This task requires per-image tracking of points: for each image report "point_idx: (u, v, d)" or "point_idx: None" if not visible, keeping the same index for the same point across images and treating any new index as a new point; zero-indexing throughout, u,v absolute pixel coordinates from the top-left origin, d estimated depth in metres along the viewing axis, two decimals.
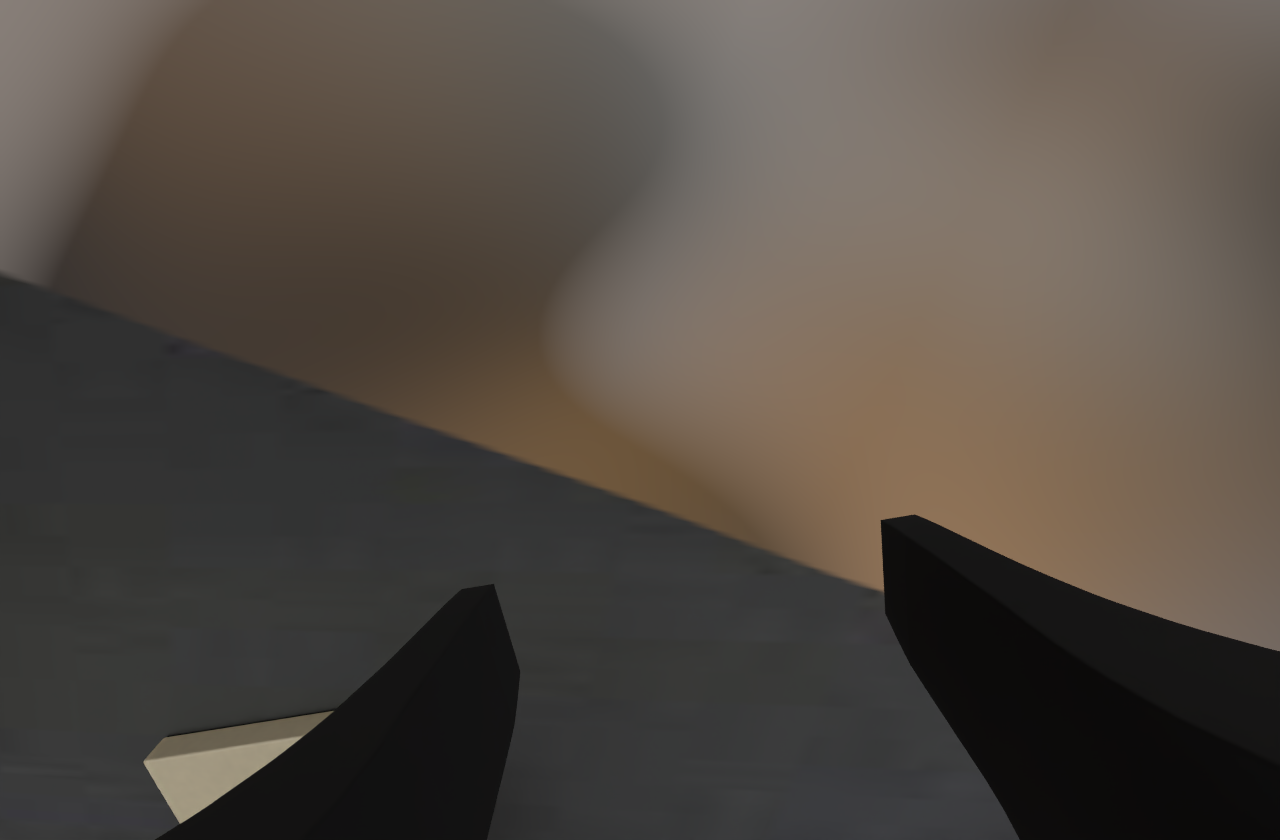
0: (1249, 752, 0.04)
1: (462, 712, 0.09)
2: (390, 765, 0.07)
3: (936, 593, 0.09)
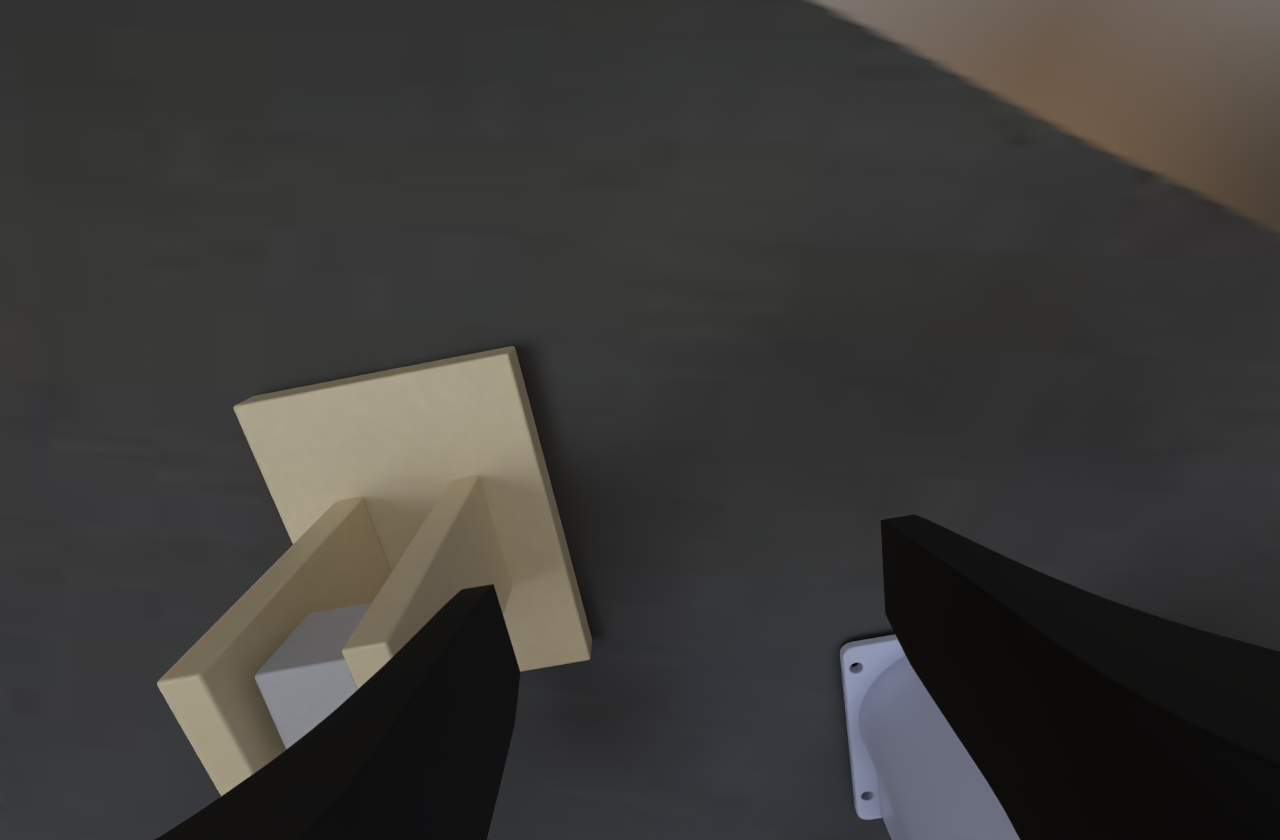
0: (1248, 752, 0.04)
1: (462, 712, 0.09)
2: (390, 765, 0.07)
3: (936, 593, 0.09)
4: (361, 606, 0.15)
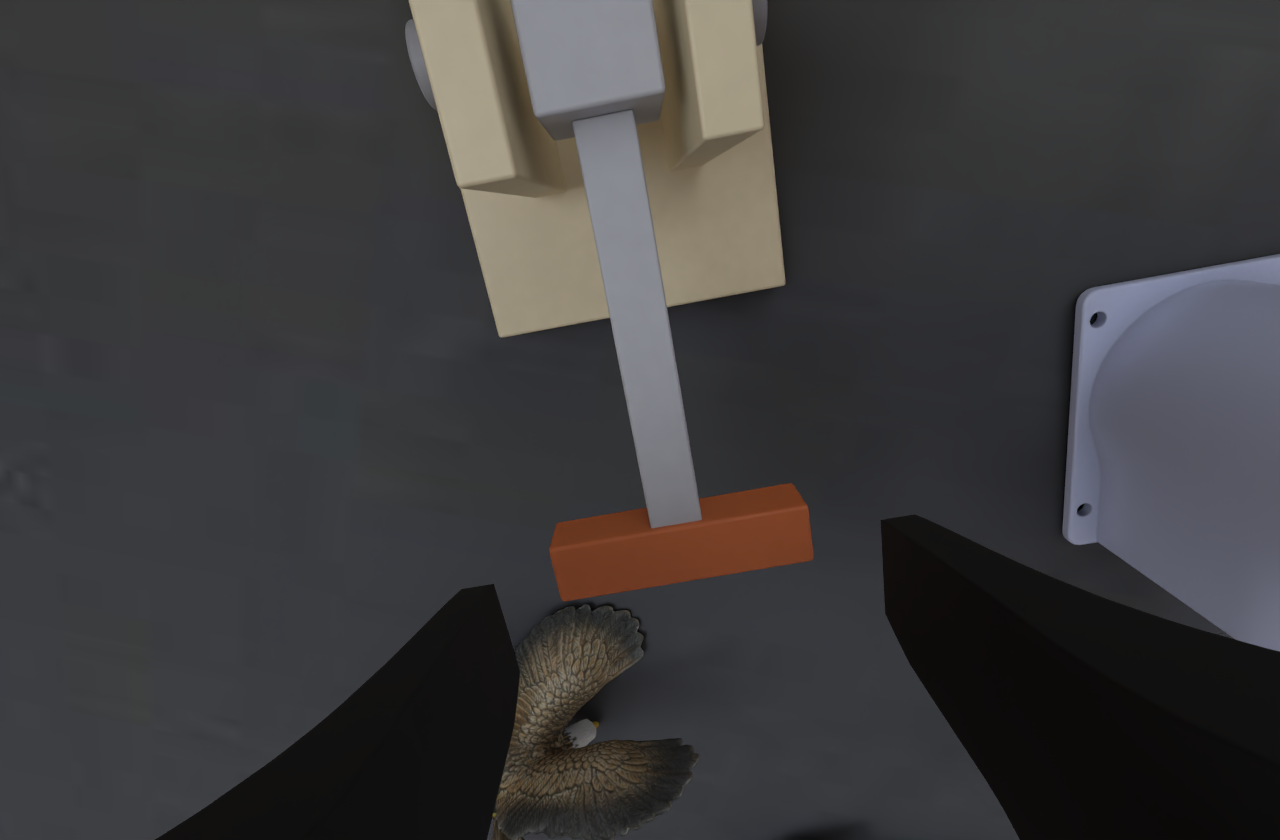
0: (1249, 752, 0.04)
1: (462, 711, 0.09)
2: (390, 765, 0.07)
3: (936, 593, 0.09)
4: None
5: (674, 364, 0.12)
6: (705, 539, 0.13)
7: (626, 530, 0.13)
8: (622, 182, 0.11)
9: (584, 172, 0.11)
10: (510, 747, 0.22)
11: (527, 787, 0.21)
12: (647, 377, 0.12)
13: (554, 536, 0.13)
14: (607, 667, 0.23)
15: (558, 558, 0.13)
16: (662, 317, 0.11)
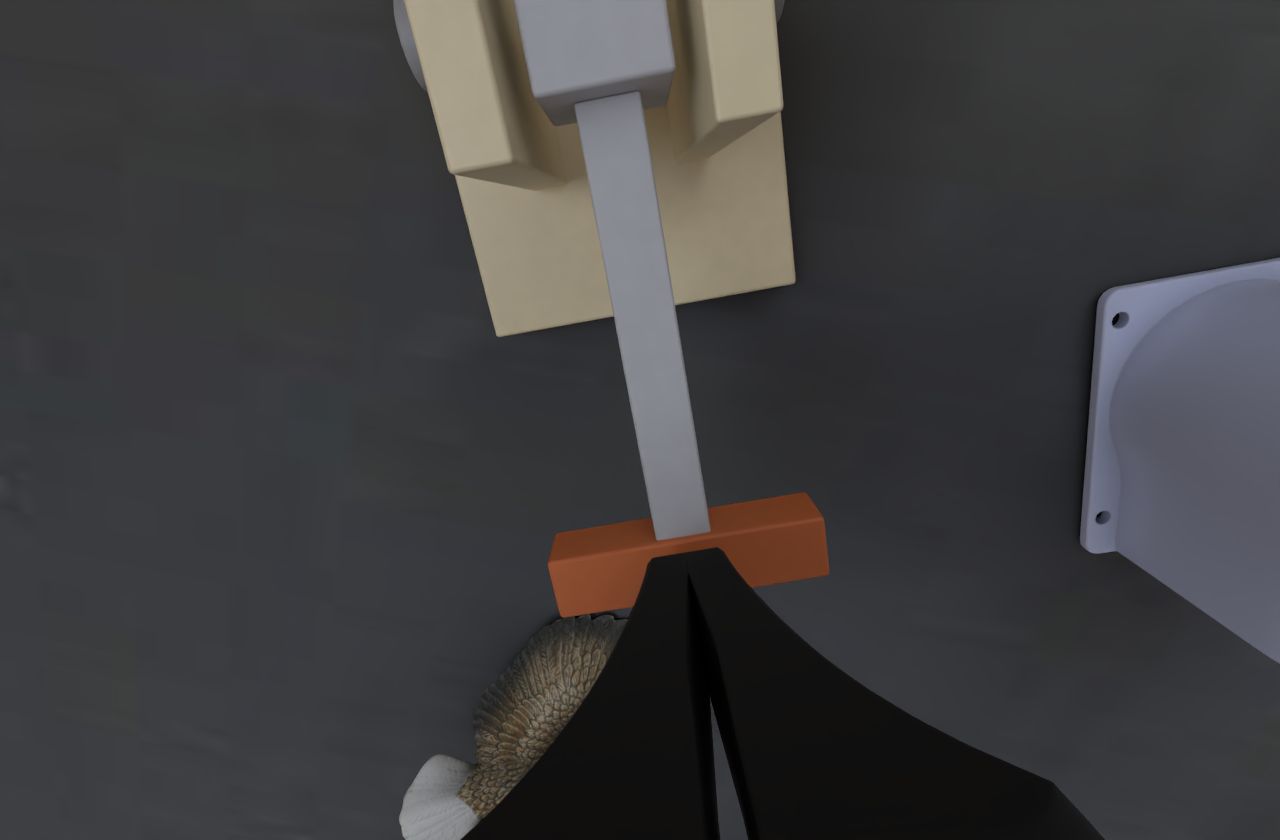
0: (760, 823, 0.04)
1: (697, 675, 0.09)
2: (694, 718, 0.07)
3: (703, 630, 0.09)
4: None
5: (682, 366, 0.11)
6: None
7: (630, 542, 0.12)
8: (627, 170, 0.10)
9: (586, 159, 0.10)
10: (507, 762, 0.21)
11: None
12: (653, 380, 0.11)
13: (553, 548, 0.12)
14: None
15: (557, 572, 0.12)
16: (670, 315, 0.11)
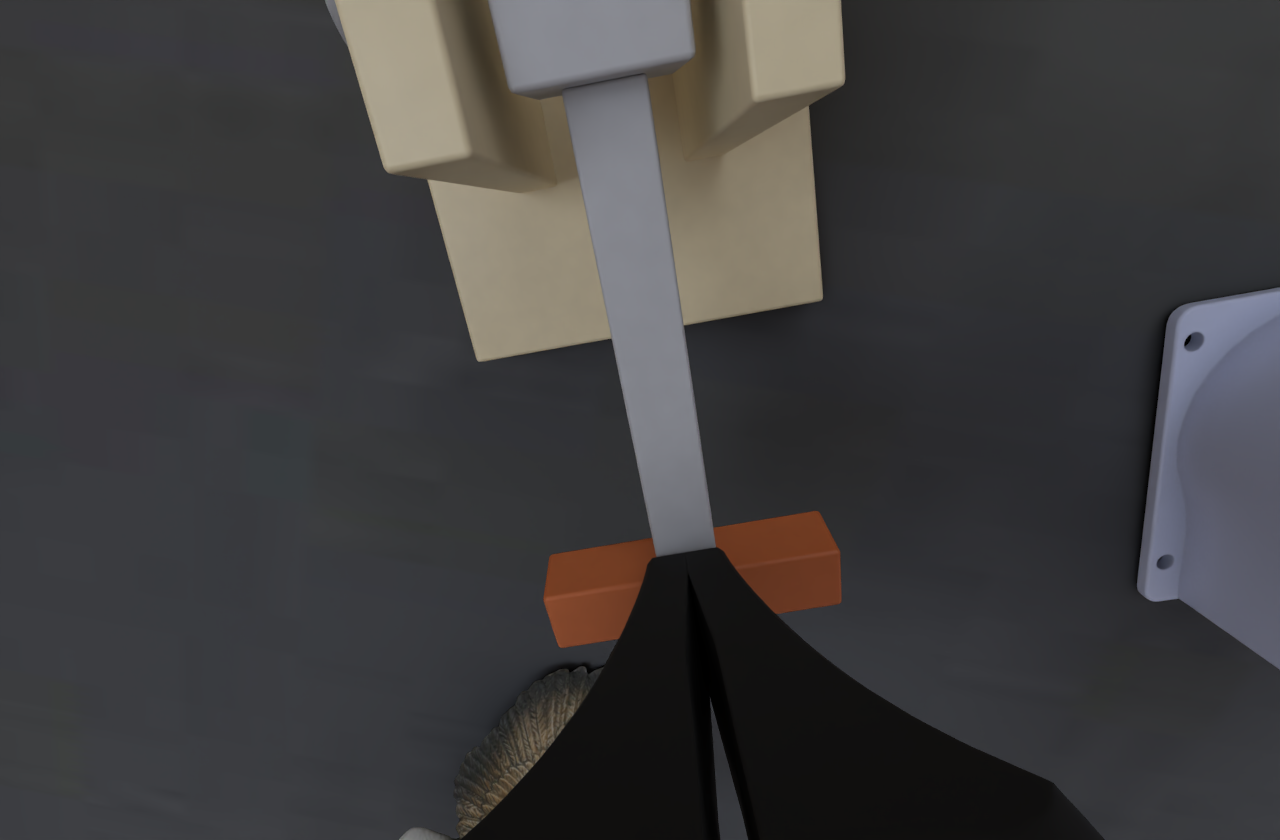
0: (759, 823, 0.04)
1: (697, 675, 0.09)
2: (694, 718, 0.07)
3: (702, 630, 0.09)
4: None
5: (692, 400, 0.10)
6: None
7: (631, 574, 0.11)
8: (630, 176, 0.08)
9: (579, 162, 0.08)
10: None
11: None
12: (659, 415, 0.10)
13: (548, 577, 0.12)
14: None
15: (554, 607, 0.11)
16: (679, 347, 0.09)
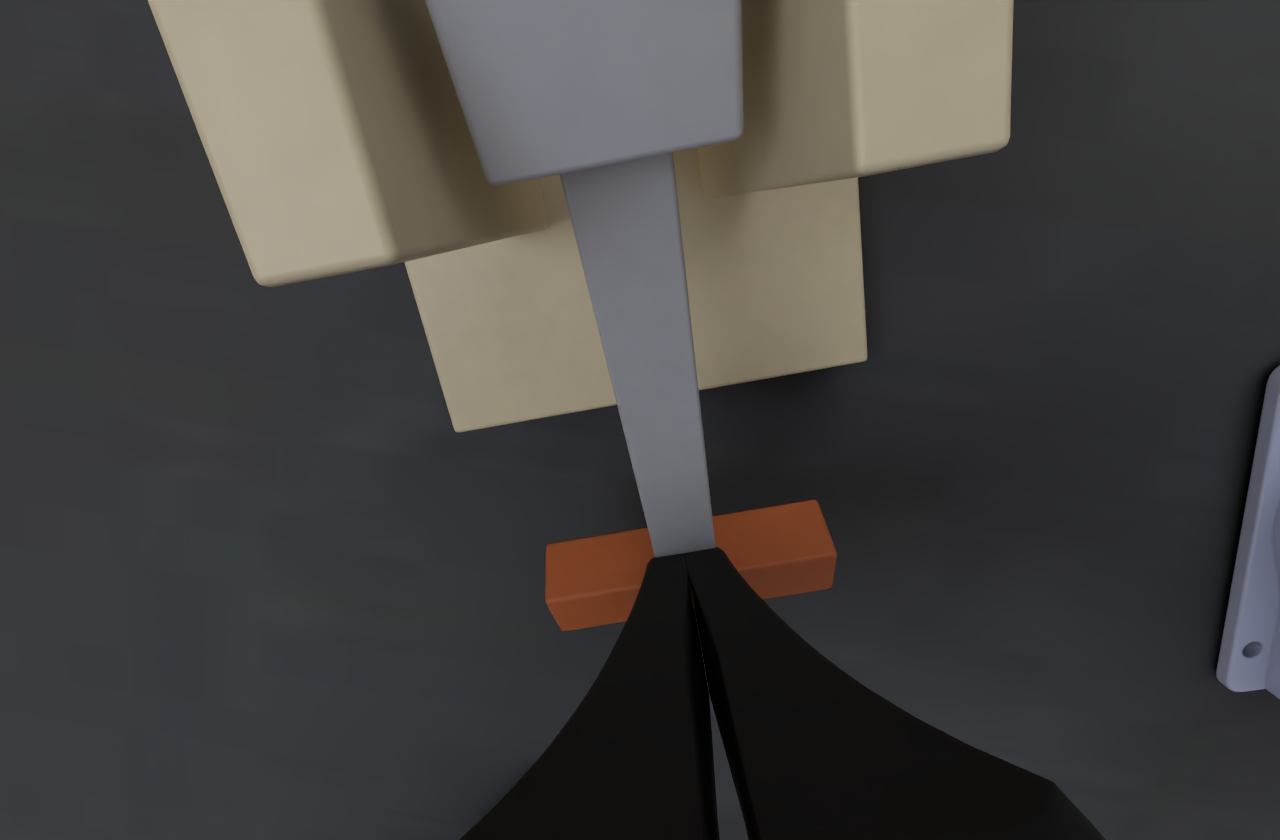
0: (761, 823, 0.04)
1: (696, 675, 0.09)
2: (693, 718, 0.07)
3: (703, 630, 0.09)
4: None
5: (702, 449, 0.09)
6: None
7: (631, 574, 0.11)
8: (643, 244, 0.06)
9: (578, 231, 0.06)
10: None
11: None
12: (665, 462, 0.09)
13: (548, 575, 0.12)
14: None
15: (556, 606, 0.11)
16: (692, 407, 0.08)
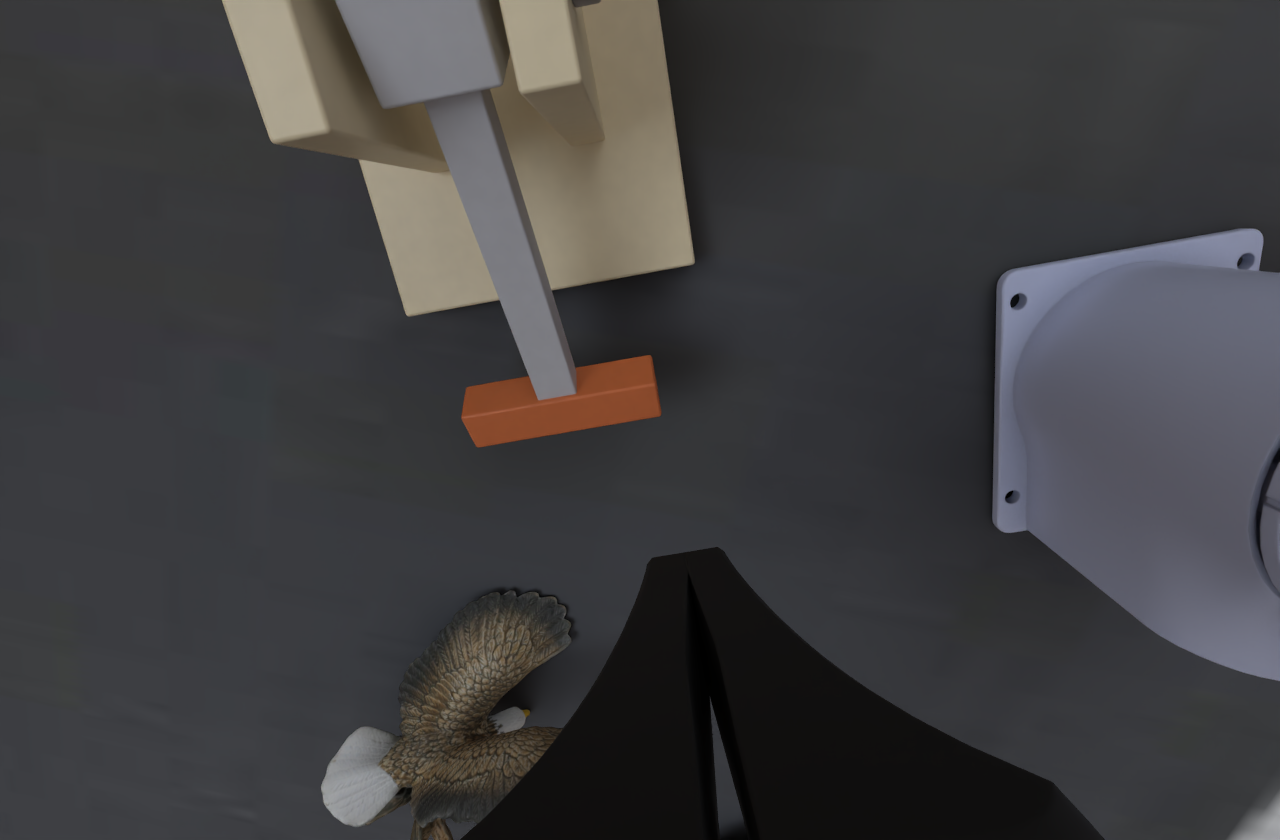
0: (760, 824, 0.04)
1: (697, 675, 0.09)
2: (694, 718, 0.07)
3: (703, 630, 0.09)
4: None
5: (542, 291, 0.14)
6: (579, 407, 0.17)
7: (519, 400, 0.17)
8: (477, 148, 0.12)
9: (440, 140, 0.12)
10: (429, 733, 0.22)
11: (441, 773, 0.20)
12: (521, 301, 0.14)
13: (464, 403, 0.17)
14: (532, 654, 0.23)
15: (469, 422, 0.17)
16: (528, 258, 0.13)
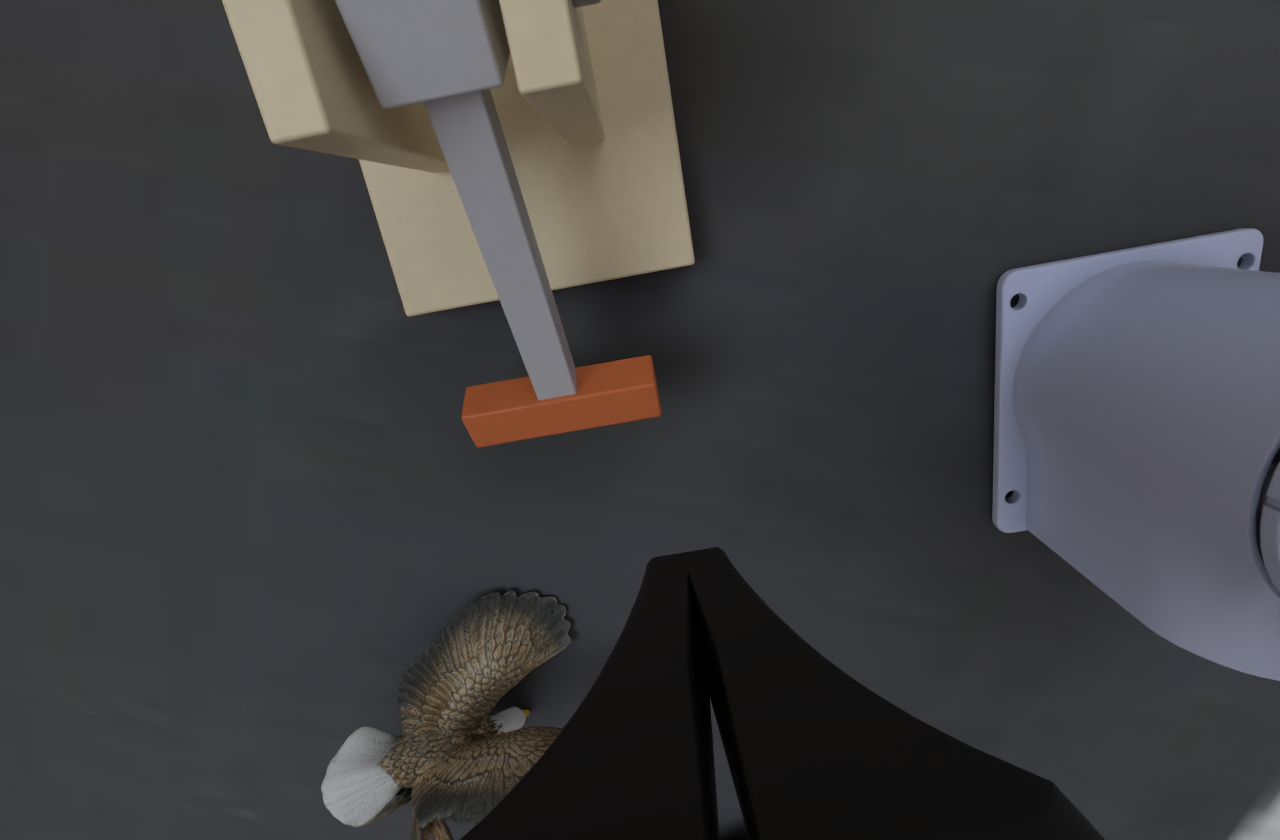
0: (760, 824, 0.04)
1: (697, 675, 0.09)
2: (694, 718, 0.07)
3: (703, 630, 0.09)
4: None
5: (542, 291, 0.14)
6: (579, 407, 0.17)
7: (519, 400, 0.17)
8: (477, 148, 0.12)
9: (440, 140, 0.12)
10: (429, 733, 0.22)
11: (441, 773, 0.20)
12: (521, 301, 0.14)
13: (464, 403, 0.17)
14: (532, 654, 0.23)
15: (469, 422, 0.17)
16: (528, 258, 0.13)
